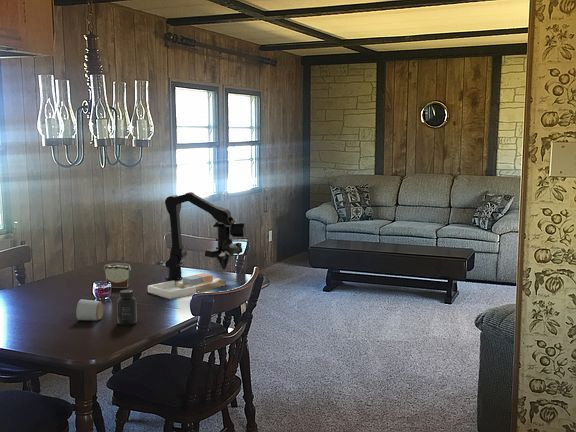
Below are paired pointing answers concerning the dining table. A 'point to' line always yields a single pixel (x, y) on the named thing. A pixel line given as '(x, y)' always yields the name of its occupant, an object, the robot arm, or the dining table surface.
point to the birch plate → (203, 284)
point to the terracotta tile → (205, 277)
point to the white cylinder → (89, 310)
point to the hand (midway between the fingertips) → (224, 269)
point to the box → (170, 290)
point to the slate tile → (192, 280)
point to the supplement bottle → (127, 308)
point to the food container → (117, 274)
